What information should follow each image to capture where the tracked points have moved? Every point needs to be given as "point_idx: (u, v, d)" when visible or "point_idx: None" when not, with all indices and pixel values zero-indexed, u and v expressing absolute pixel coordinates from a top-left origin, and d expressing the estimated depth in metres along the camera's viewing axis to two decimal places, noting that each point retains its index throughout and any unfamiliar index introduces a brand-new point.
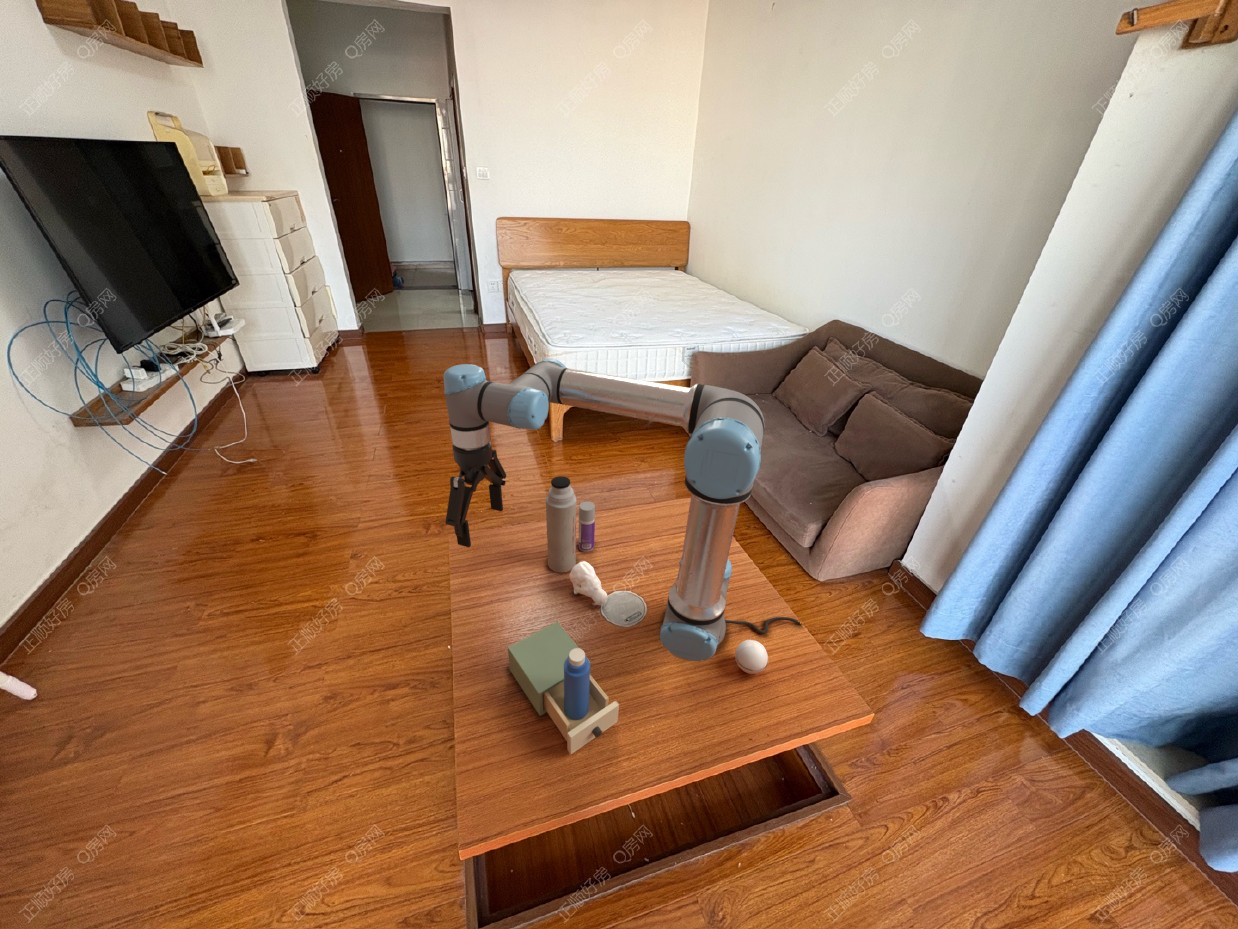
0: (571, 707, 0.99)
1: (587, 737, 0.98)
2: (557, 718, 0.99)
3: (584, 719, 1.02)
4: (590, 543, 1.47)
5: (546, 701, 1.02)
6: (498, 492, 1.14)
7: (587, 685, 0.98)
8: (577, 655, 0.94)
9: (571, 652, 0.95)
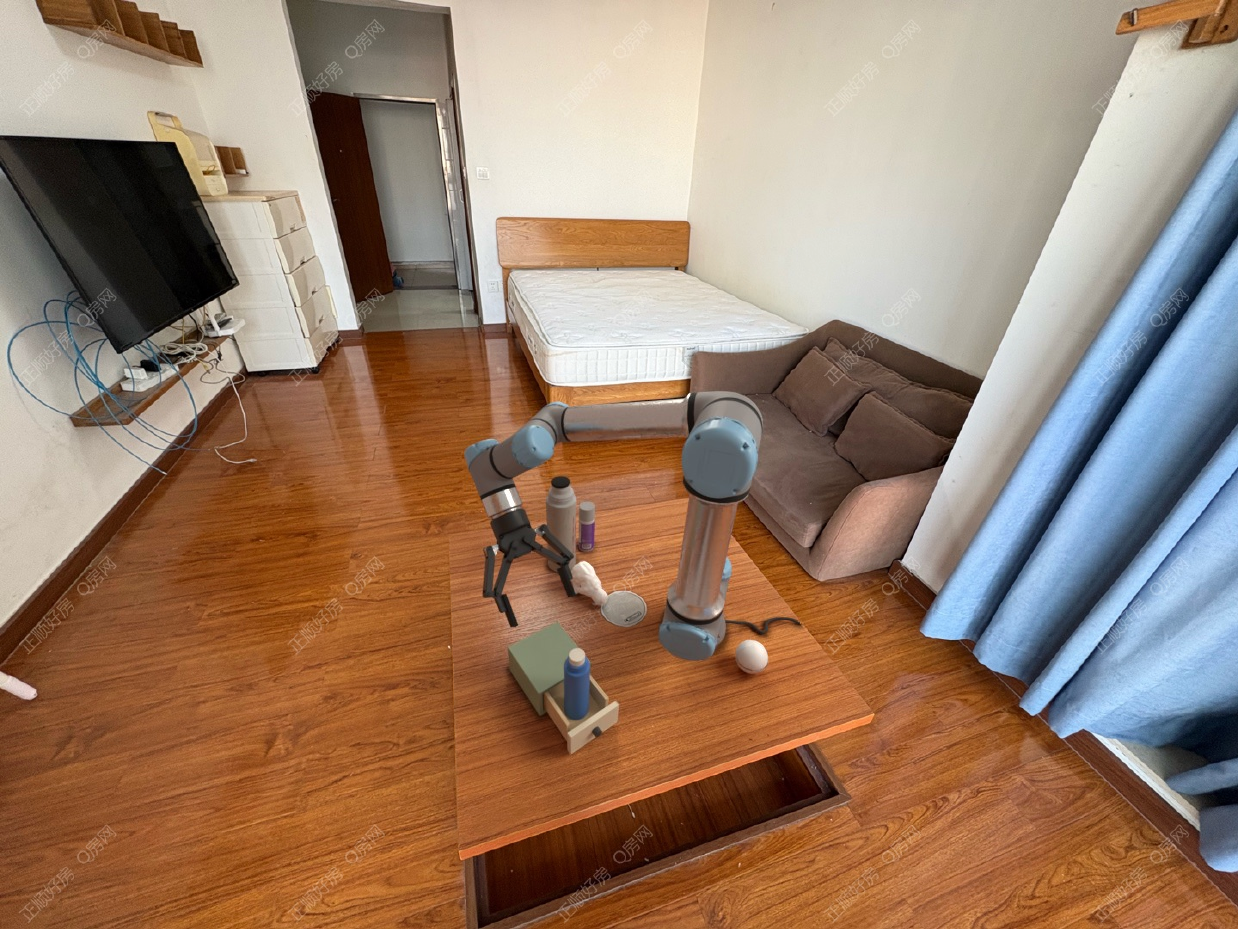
0: (571, 707, 0.99)
1: (587, 737, 0.98)
2: (557, 718, 0.99)
3: (584, 719, 1.02)
4: (590, 543, 1.47)
5: (546, 701, 1.02)
6: (563, 573, 1.05)
7: (587, 685, 0.98)
8: (577, 655, 0.94)
9: (571, 652, 0.95)
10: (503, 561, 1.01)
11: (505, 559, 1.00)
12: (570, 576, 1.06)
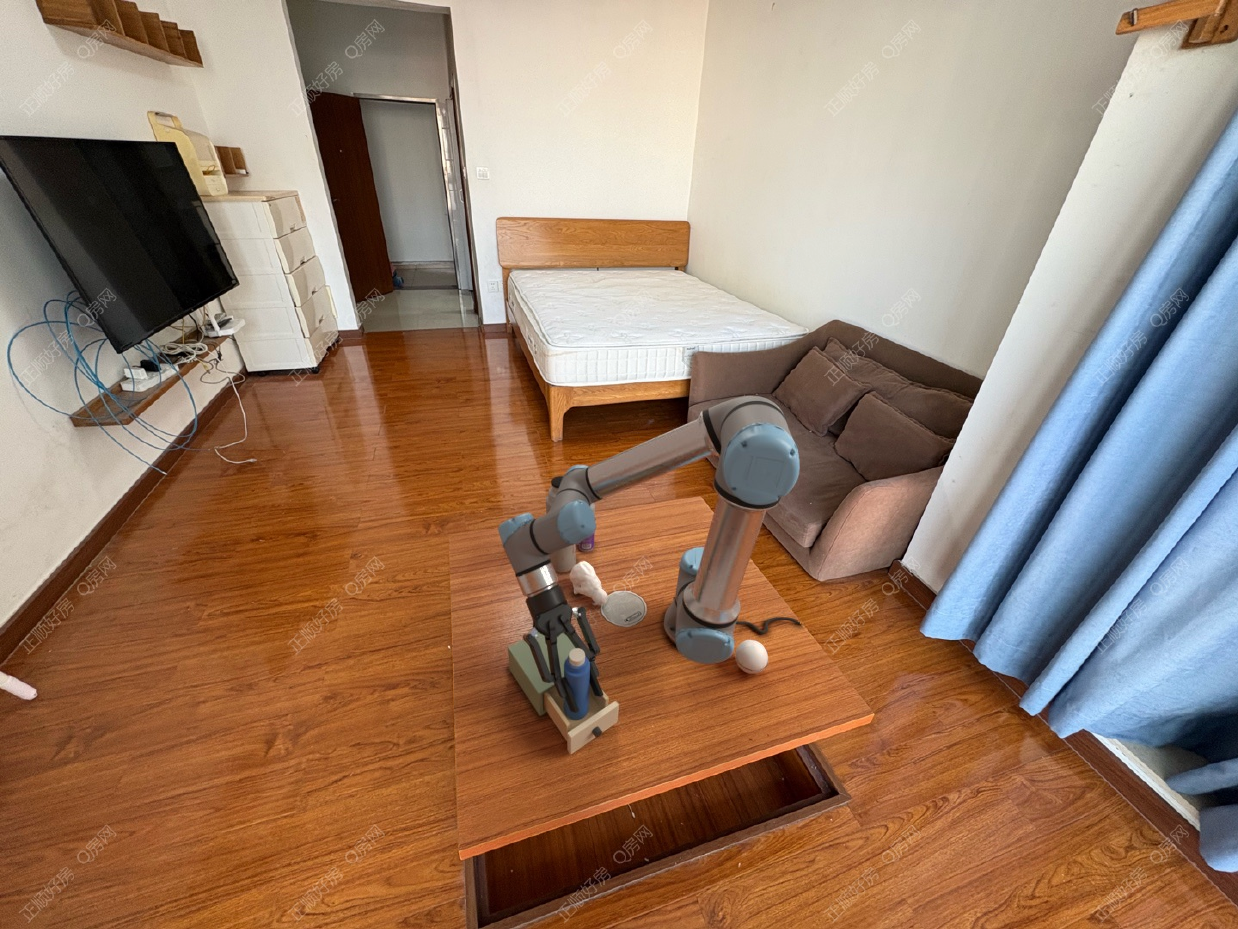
0: None
1: (587, 737, 0.98)
2: (557, 718, 0.99)
3: (584, 719, 1.02)
4: (590, 543, 1.47)
5: (546, 701, 1.02)
6: None
7: (587, 685, 0.98)
8: (577, 655, 0.94)
9: (571, 652, 0.95)
10: (548, 643, 0.98)
11: (549, 642, 0.97)
12: (597, 673, 0.99)
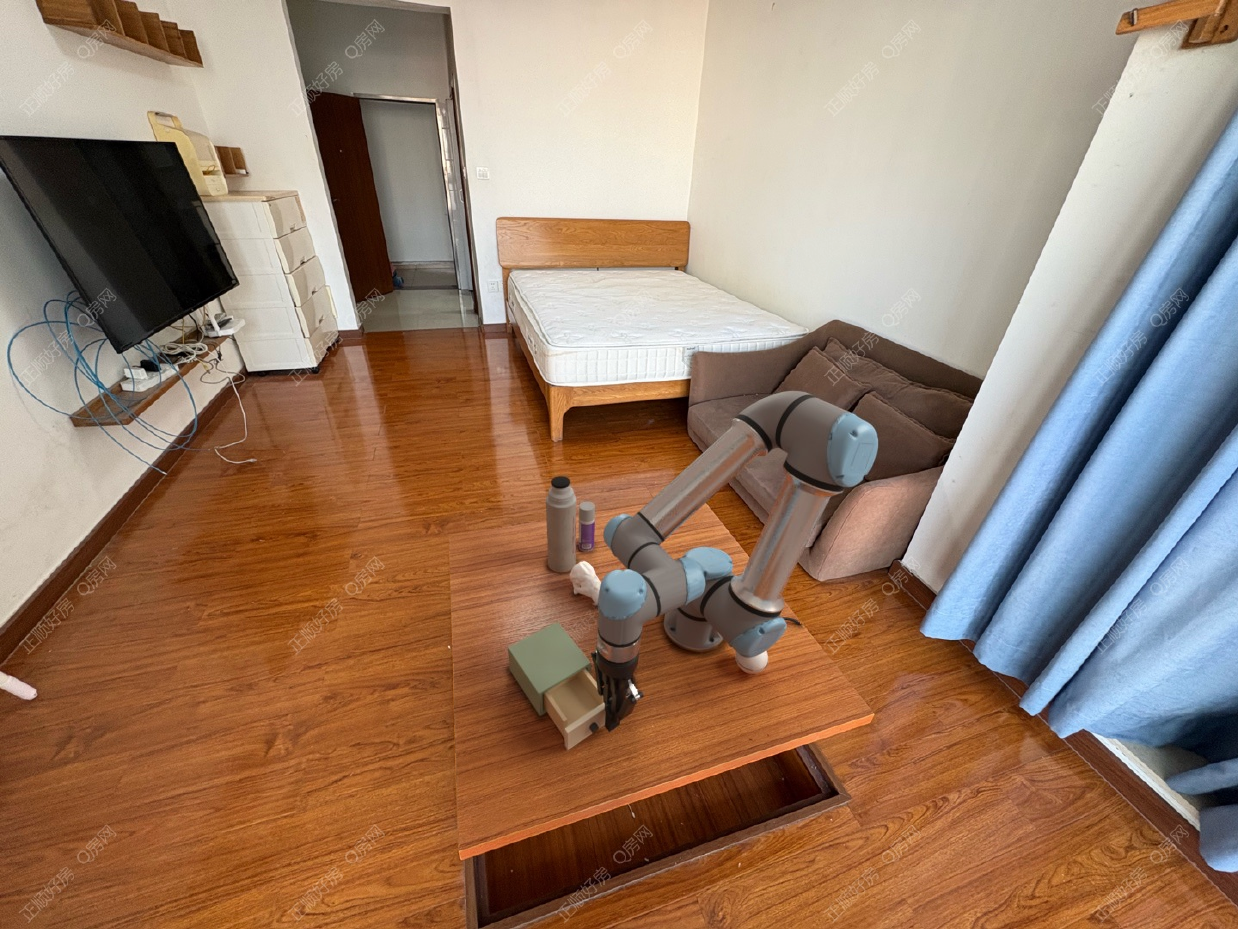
0: None
1: (584, 733, 0.98)
2: (554, 714, 1.00)
3: (581, 715, 1.02)
4: (590, 543, 1.47)
5: (543, 697, 1.02)
6: None
7: None
8: None
9: None
10: (620, 691, 0.91)
11: None
12: None
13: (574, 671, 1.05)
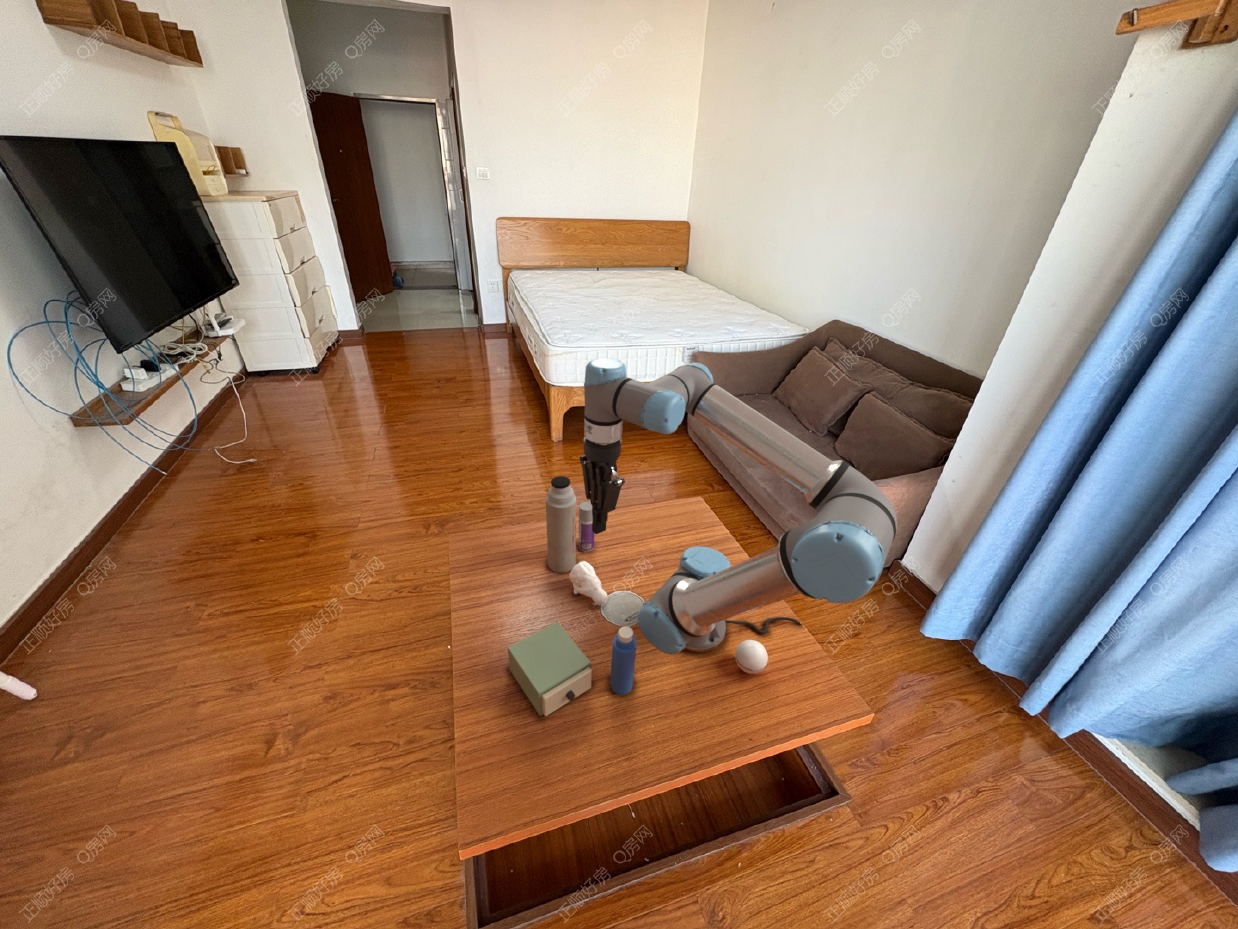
0: (618, 682, 1.07)
1: (561, 700, 1.04)
2: None
3: (559, 685, 1.08)
4: (590, 543, 1.47)
5: None
6: None
7: (634, 661, 1.05)
8: (626, 632, 1.02)
9: (620, 630, 1.03)
10: (605, 484, 1.03)
11: (608, 481, 1.04)
12: None
13: (574, 671, 1.05)
